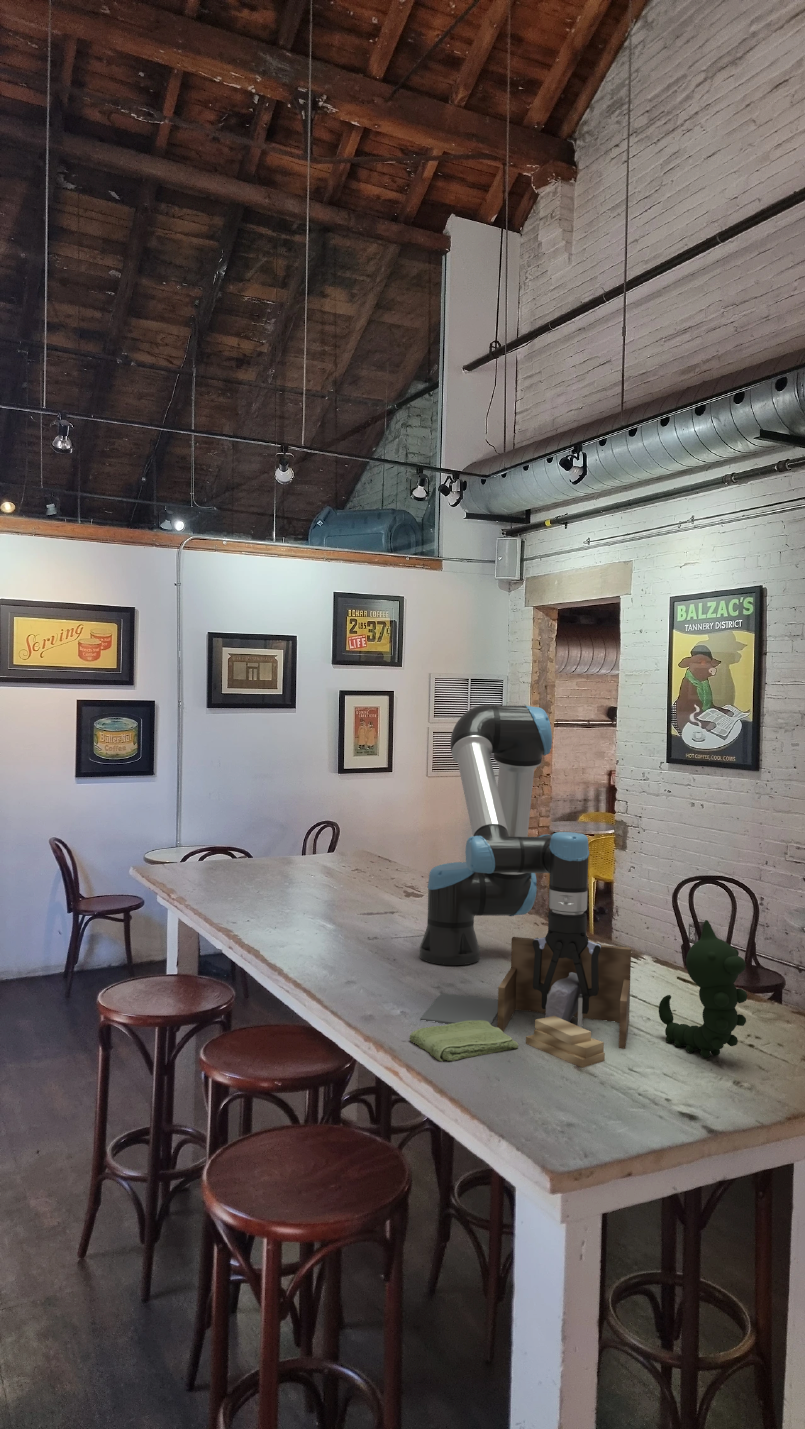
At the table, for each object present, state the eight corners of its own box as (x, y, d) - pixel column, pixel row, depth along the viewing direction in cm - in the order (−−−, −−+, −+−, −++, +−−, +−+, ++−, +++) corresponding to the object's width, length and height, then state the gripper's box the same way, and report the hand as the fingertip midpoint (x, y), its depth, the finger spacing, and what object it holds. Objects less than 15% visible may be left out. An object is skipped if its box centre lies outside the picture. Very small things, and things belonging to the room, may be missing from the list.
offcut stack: (525, 1046, 177) (526, 1018, 177) (548, 1039, 180) (548, 1012, 180) (582, 1069, 166) (583, 1040, 166) (604, 1062, 169) (605, 1033, 169)
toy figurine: (721, 1073, 165) (725, 932, 164) (642, 1039, 181) (645, 910, 181) (756, 1064, 169) (760, 926, 169) (676, 1031, 186) (680, 906, 186)
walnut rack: (497, 1033, 182) (499, 955, 182) (510, 1008, 198) (512, 936, 198) (625, 1048, 175) (627, 968, 175) (629, 1021, 191) (631, 947, 191)
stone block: (565, 1039, 180) (568, 988, 180) (541, 1033, 182) (545, 982, 182) (586, 1022, 190) (590, 974, 190) (564, 1016, 193) (568, 969, 192)
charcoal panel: (420, 1022, 187) (420, 1018, 187) (441, 996, 205) (441, 992, 205) (488, 1030, 183) (488, 1026, 183) (504, 1003, 201) (504, 999, 201)
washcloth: (522, 1052, 174) (522, 1035, 174) (441, 1067, 165) (441, 1049, 165) (482, 1030, 185) (483, 1014, 185) (405, 1043, 177) (405, 1026, 177)
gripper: (518, 910, 185) (515, 1027, 185) (613, 918, 180) (610, 1039, 180) (524, 903, 192) (521, 1016, 192) (616, 911, 187) (613, 1026, 187)
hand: (564, 1027), depth 186 cm, fingers closed on stone block, 5 cm apart
